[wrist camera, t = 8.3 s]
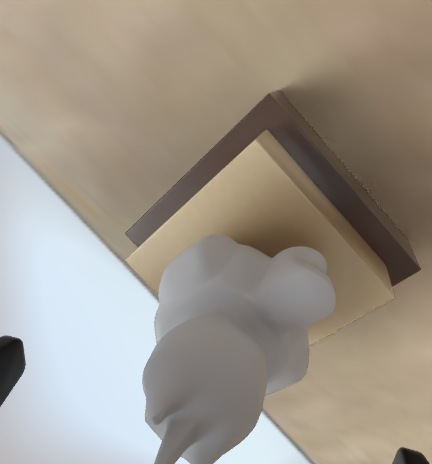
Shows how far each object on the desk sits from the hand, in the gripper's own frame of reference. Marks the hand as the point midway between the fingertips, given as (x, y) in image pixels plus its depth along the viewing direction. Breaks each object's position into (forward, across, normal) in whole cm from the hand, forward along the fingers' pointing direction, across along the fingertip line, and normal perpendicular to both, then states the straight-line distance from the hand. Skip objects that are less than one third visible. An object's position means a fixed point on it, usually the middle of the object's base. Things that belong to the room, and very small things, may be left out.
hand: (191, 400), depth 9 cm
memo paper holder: (+12, 0, 0) cm, 12 cm away
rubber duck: (+6, 0, 0) cm, 7 cm away
